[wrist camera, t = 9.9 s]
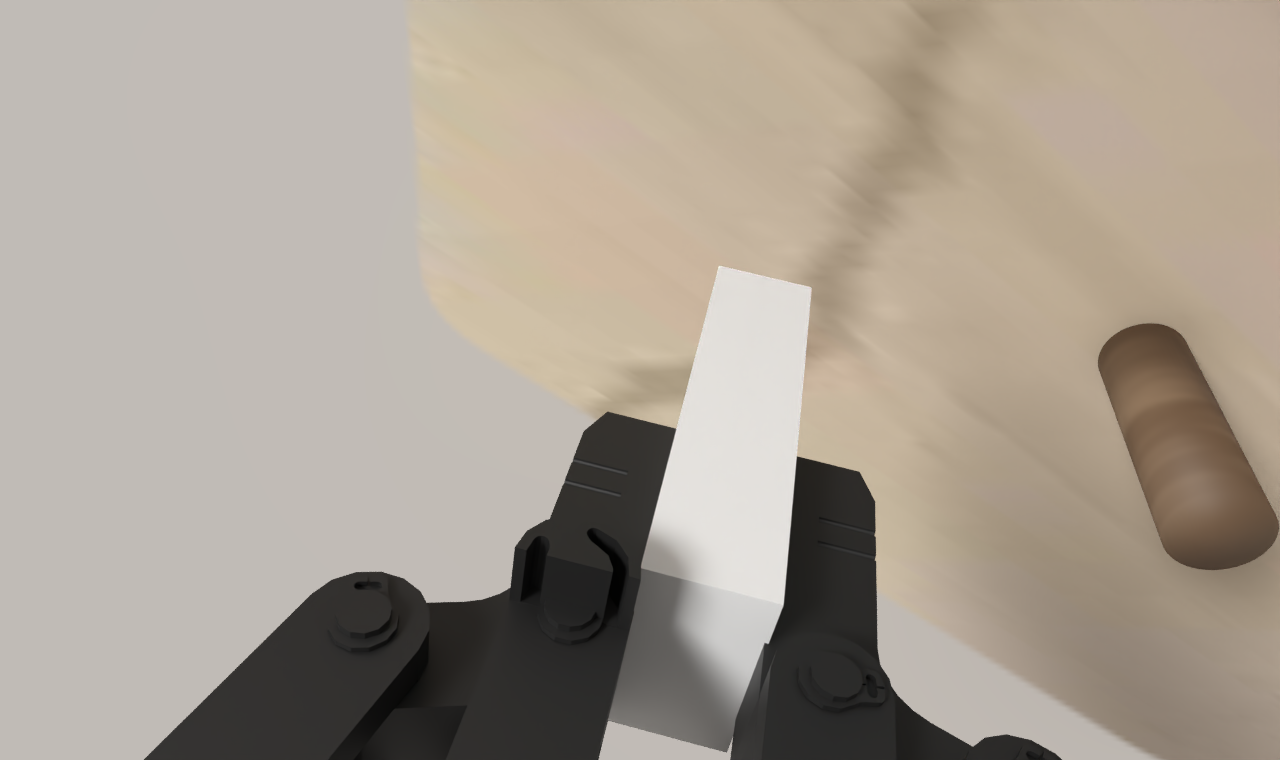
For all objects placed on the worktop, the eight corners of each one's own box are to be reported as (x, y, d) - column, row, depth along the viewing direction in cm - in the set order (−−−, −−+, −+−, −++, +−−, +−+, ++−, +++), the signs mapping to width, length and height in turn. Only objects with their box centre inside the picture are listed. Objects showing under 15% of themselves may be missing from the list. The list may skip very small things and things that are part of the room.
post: (1204, 334, 29) (1301, 509, 23) (1163, 399, 31) (1243, 580, 24) (1120, 315, 29) (1193, 483, 23) (1084, 380, 31) (1142, 554, 24)
